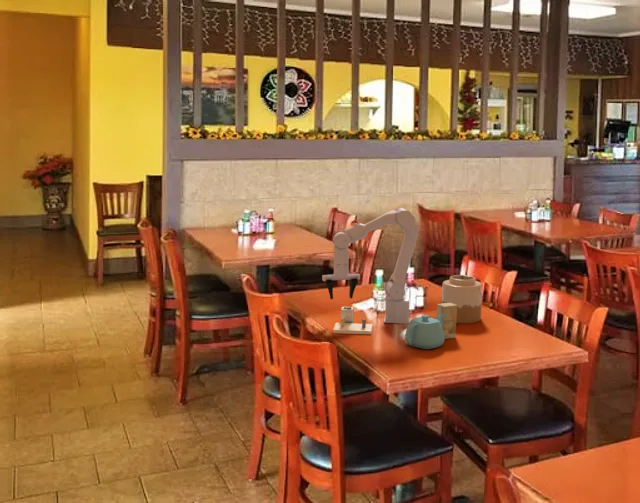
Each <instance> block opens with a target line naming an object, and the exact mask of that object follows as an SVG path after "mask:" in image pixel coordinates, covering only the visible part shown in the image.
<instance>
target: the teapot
mask: <svg viewBox="0 0 640 503" xmlns="http://www.w3.org/2000/svg"><path fill="white" fill-rule="evenodd" d="M444 314H445V313H441V314H440V315H439V317H438V320H437V319H436V318H433V317H430V315H428V314H423V315H421V316H419V317H414V318H411V319H410V321H409V323H408V325H407V327H406V330H405V335H404V339H405V342H406V344H407V345H409V346H411V347H414V348H418V349H422V350H431V349H432V350H433V349H436V348H439V347H440V348H441V346H443V344H444V343H445V340H446V339H445V338H444V332H443V328H442V319H443V316H444Z"/></svg>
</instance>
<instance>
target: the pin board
mask: <svg viewBox="0 0 640 503" xmlns="http://www.w3.org/2000/svg"><path fill="white" fill-rule="evenodd" d="M366 320H367V319H366V318H362V319H361V323H356V322H355V323H354V322H353V323H344V318H341V317H340V322H335V324H334V326H333V329H332V333H333V334H345V335H346V334H347V335H348V334H349V335H351V334H352V335H372V333H373V327H374V326H373V325H374V324H373V323H367V321H366Z"/></svg>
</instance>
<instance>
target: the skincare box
mask: <svg viewBox="0 0 640 503" xmlns="http://www.w3.org/2000/svg"><path fill="white" fill-rule="evenodd" d="M441 313H445V314H444V316H443V319H442V328H443V332H444V338H445V340H447V339H455V338H456V334H457V333H456V332H457V323H456V318H457V305H455V304H452V303H443V304H442V303H437V304H436V316H435V319H437V320H438V317H439V315H440V314H441Z"/></svg>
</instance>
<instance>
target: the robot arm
mask: <svg viewBox="0 0 640 503" xmlns="http://www.w3.org/2000/svg"><path fill="white" fill-rule="evenodd" d="M385 225H394V226H395V225H398V226H399V227H400V228H401V230H402V232H403V233H404V236H403V239H402V242H401V245H400V248H399V252H398V255H397V260H396V263H395V266H394V269H393V273H392V274H391V275H390V278H389V279H388V281H387V282H386V283H385V287H384V288H385V292H386V293H387V295H386V296H385V308H384V309H385V310H384V311H385V314H384V319H383V323H386V324H405V325H406V324H408V325H409V323H410V321H409V320H410V316H411V314H410V299H408V298H405V294H406V289H405V288H406V284H407V283H406V282H407V281H406V277H407V274H408V270H409V266H410V263H411V261H412V258H413V254H414V250H415V247H416V244H417V240H418V237H419V232H420V231H419V229H418V225H417V222H416V217H415V216H414V215H413V213H412V212H411V211H409V210H407V209H406V208H405V207H397V208H395V209H392V210H390V211H387V212H386V213H384V214H382V215H380V216H378V217H376V218H374V219H372V220H370V221H368V222H367V223H357V222H355V223H354V224H353V226H351V227H349V228H347V229H345V228H344V229H342V231H339V232H336V233H335V234H334V236H333V238H332V243H333V246H334V247H333V273H332V274H322V275H321V276H322V277H321V279H322V281H323V282H324V283H325V285H326V287H327V290H328V293H329V299H330V300H334V294H333V293H334V292H333V291H334V289H333V288H334V283H333V281H348V284H349V295H348V297H349V299H353V296H354V292H355V289H356V287H357V285H358V283H359V280H361V274H360V273H350V272H349V271H350V270H349V269H350V267H349V266H350V265H349V264H350V261H349V260H350V259H349V257H350V256H349V255H350V254H349V246H350V244H355V243H356V242H359V241H361V240H362V239H364V238H366V237H367V236H368V233H369V232H372V231H374V230H376V229H379V228H381V227H384V226H385Z"/></svg>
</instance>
